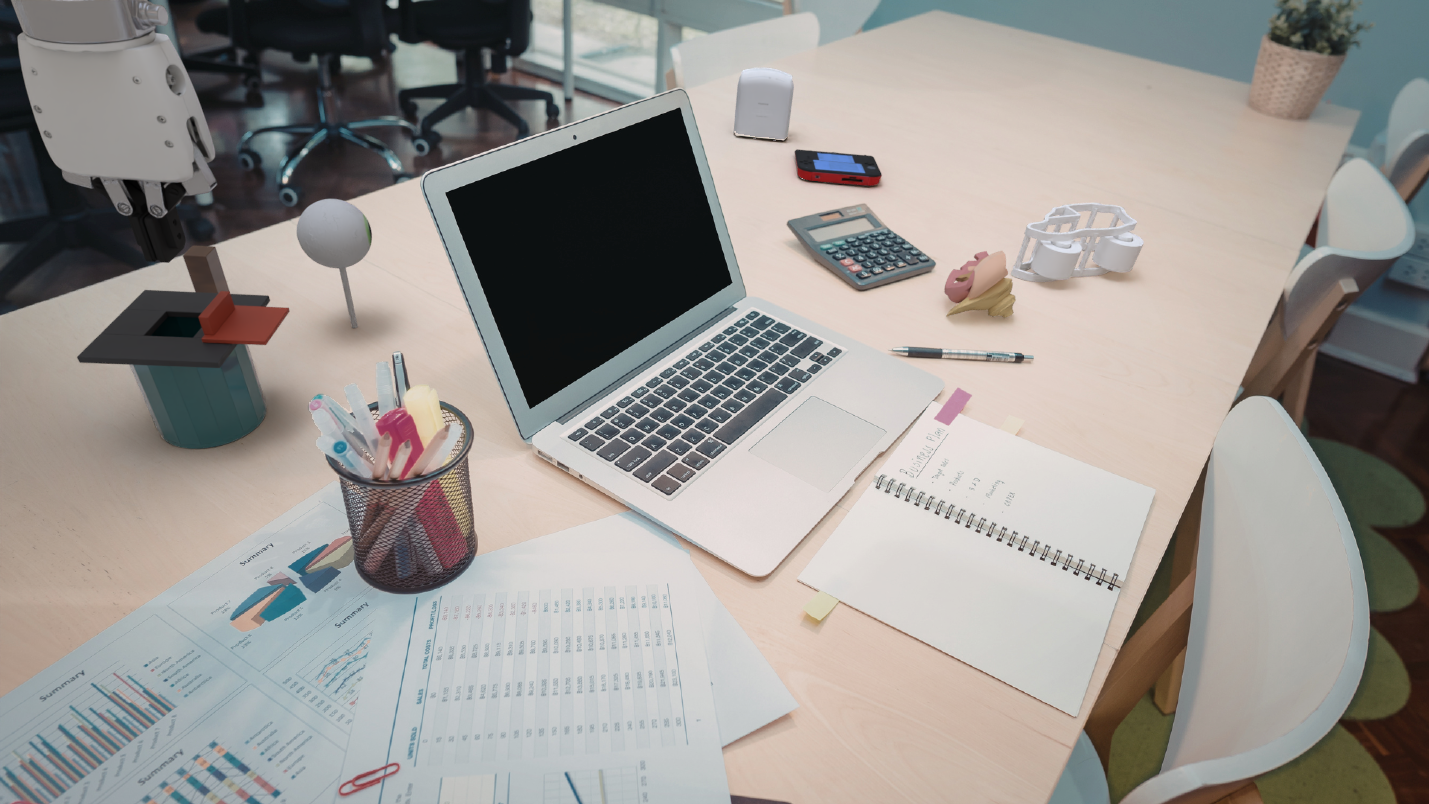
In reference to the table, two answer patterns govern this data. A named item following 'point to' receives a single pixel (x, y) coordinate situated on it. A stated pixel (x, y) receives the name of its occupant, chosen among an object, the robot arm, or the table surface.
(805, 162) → the game console
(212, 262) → the peg
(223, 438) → the cup
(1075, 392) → the table surface
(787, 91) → the photo printer
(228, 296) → the slider
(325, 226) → the lollipop
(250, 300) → the cup lid
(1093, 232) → the wheeled car silhouette
